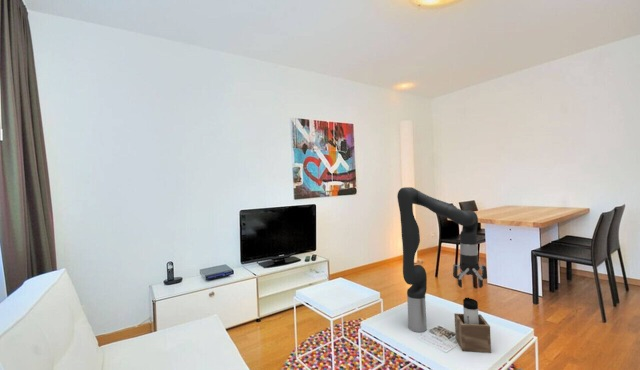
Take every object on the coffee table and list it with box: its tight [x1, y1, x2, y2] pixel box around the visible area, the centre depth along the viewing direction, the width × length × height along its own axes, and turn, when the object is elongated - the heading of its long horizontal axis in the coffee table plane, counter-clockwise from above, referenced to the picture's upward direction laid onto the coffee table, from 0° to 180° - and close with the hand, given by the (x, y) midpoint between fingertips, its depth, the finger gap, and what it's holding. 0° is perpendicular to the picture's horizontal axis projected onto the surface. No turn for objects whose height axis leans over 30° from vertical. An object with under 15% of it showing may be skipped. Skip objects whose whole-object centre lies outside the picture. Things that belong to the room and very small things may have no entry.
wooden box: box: [453, 313, 492, 354], centre depth 138 cm, size 12×12×12 cm
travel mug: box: [462, 297, 479, 324], centre depth 139 cm, size 6×7×20 cm
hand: (470, 287), depth 139 cm, fingers open, 8 cm apart
